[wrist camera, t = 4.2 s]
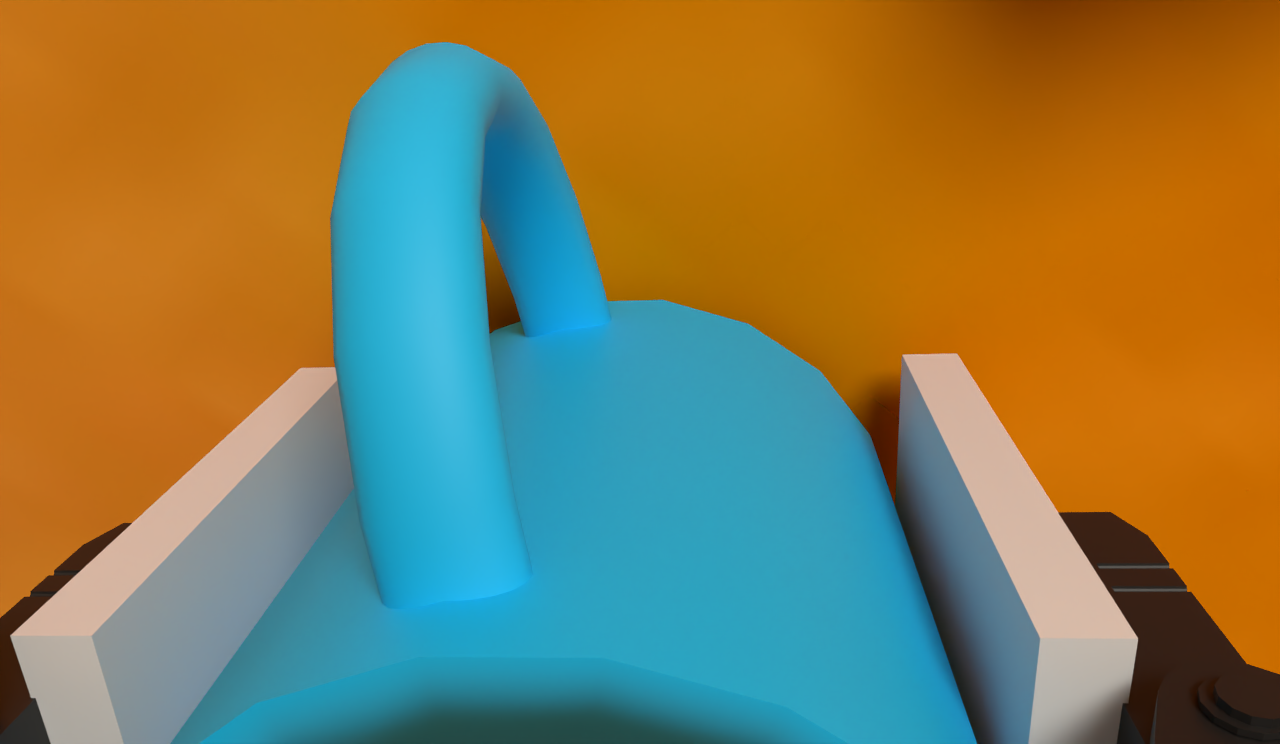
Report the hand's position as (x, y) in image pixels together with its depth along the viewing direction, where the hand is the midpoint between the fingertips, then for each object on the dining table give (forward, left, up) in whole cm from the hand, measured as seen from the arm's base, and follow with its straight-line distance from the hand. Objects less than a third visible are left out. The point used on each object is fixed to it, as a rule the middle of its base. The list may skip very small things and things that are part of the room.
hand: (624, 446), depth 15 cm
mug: (0, 0, -1) cm, 1 cm away
